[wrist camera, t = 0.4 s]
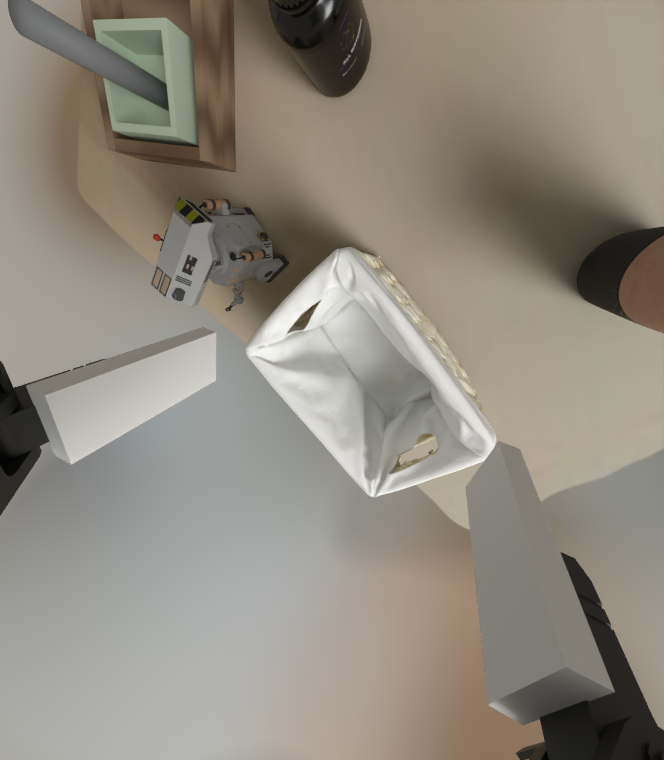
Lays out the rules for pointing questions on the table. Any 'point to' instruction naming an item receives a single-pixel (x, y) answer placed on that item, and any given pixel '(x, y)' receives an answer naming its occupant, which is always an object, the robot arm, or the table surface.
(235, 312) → the table surface
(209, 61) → the bay
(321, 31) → the supplement bottle
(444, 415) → the storage basket
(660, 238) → the travel mug
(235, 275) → the figurine
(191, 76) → the green box with handle
